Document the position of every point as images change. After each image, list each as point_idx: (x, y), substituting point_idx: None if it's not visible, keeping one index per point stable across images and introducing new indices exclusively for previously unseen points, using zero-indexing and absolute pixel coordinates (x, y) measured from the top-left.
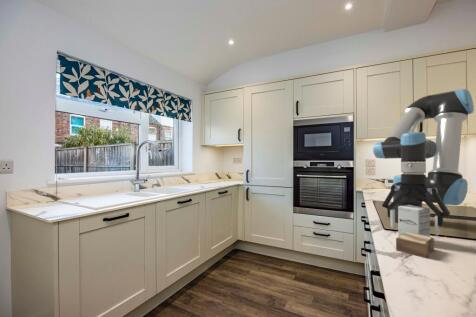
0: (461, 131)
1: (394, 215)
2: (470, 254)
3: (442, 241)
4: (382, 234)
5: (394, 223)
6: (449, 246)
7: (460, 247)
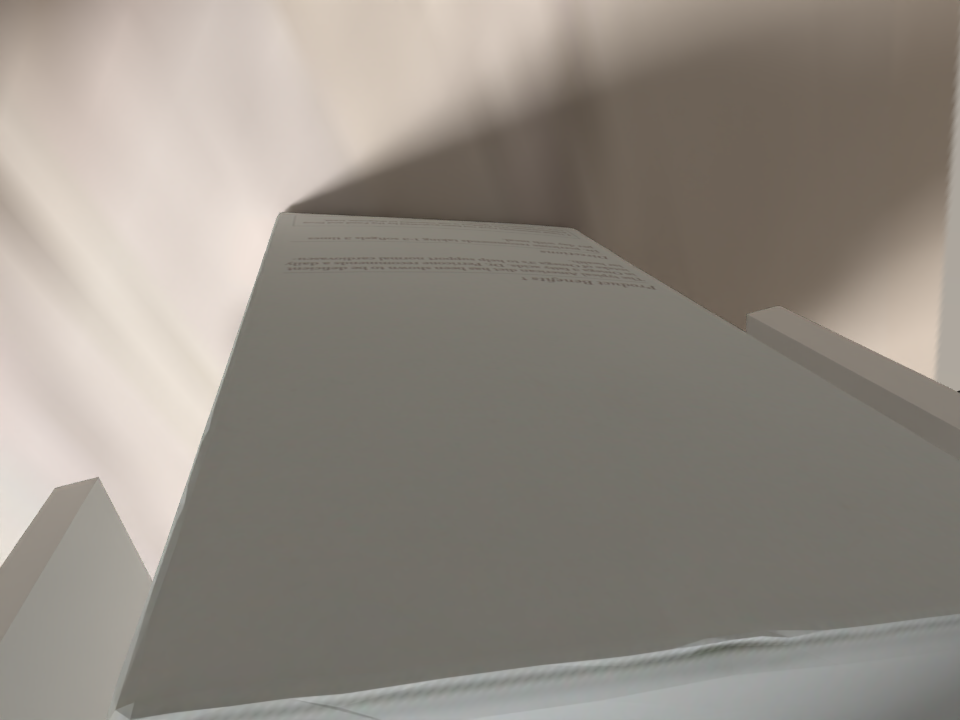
0: None
1: (3, 686)
2: (935, 287)
3: (672, 11)
4: (32, 499)
5: (92, 530)
6: (770, 193)
7: (865, 106)
